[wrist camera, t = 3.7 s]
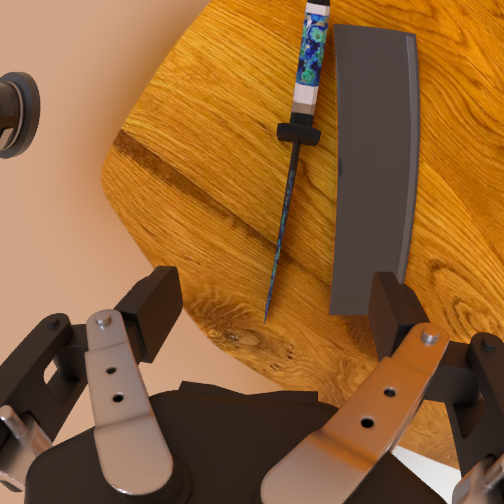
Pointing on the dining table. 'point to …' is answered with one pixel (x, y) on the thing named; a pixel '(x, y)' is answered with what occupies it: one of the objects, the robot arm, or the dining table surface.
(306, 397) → the robot arm
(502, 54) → the dining table surface
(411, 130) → the slate board
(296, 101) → the knife
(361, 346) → the dining table surface
